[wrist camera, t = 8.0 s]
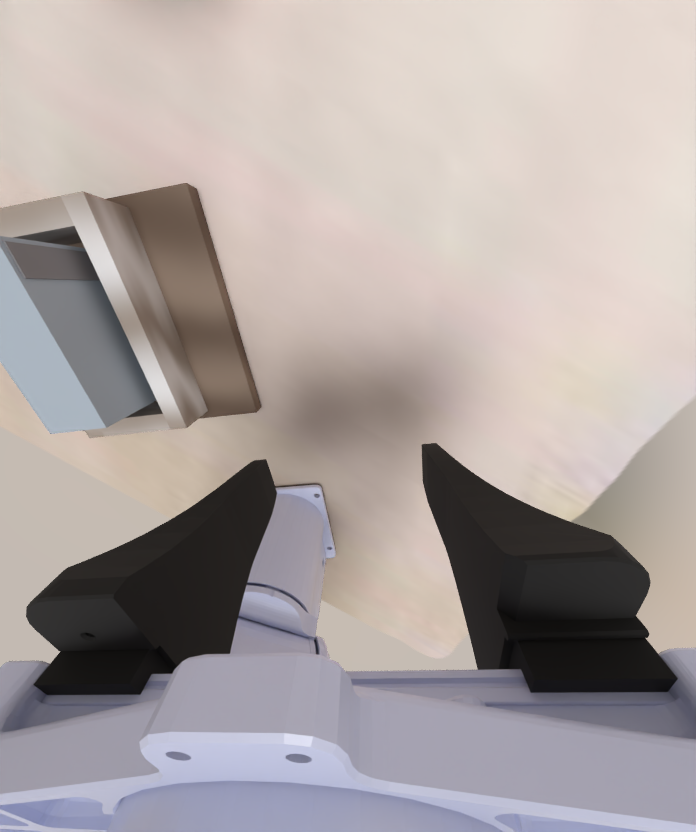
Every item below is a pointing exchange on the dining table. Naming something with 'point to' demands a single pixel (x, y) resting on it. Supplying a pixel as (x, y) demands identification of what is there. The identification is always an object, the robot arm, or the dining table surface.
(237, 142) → the dining table surface
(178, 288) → the post base
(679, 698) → the robot arm
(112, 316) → the blue-grey block
